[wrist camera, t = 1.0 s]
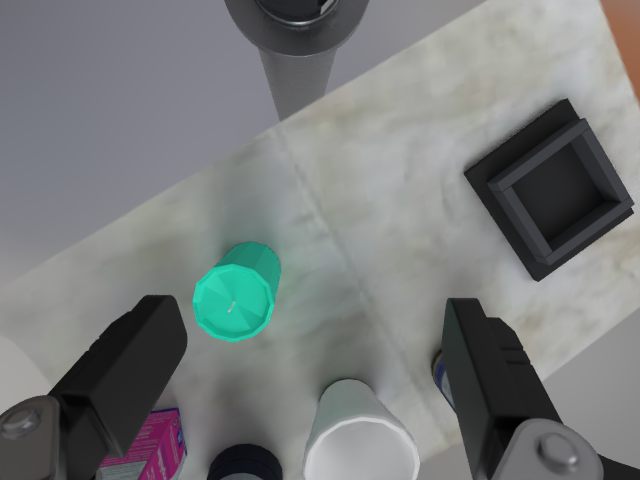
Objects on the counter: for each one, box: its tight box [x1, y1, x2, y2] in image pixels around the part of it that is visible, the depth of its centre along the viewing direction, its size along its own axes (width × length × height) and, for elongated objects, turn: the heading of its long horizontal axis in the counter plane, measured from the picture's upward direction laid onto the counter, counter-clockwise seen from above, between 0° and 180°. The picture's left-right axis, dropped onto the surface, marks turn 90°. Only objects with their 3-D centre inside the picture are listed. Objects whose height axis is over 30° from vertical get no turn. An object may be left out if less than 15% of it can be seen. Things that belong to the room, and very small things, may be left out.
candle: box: [192, 242, 281, 342], centre depth 31 cm, size 6×6×12 cm
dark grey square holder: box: [464, 98, 634, 282], centre depth 36 cm, size 14×12×3 cm
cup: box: [303, 379, 420, 480], centre depth 35 cm, size 10×10×9 cm
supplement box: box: [99, 408, 187, 480], centre depth 33 cm, size 6×6×12 cm
